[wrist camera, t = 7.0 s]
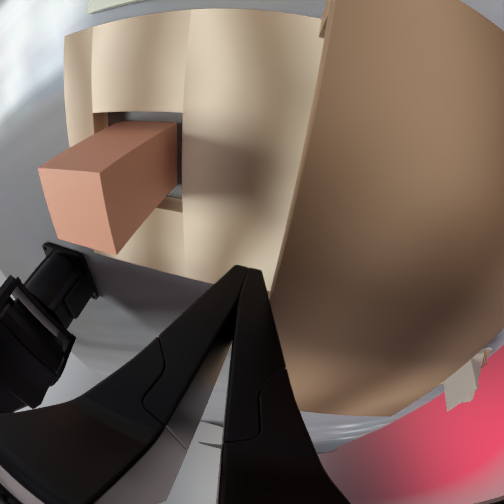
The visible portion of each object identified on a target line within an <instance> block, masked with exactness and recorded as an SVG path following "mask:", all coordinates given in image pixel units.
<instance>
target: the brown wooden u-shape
mask: <svg viewBox="0 0 504 504" xmlns="http://www.w3.org/2000/svg"><path fill="white" fill-rule="evenodd" d="M319 37H320V38H324V42H323V48H322V54H321V59H320V65H319V70H318V76H317V81H316V87H315V92H314V97H313V102H312V107H311V112H310V117H309V122H308V127H307V132H306V137H305V142H304V147H303V152H302V156H301V161H300V166H299V170H298V175H297V179H296V184H295V188H294V193H293V197H292V202H291V206H290V211H289V215H288V219H287V224H286V228H285V232H284V236H283V241H282V245H281V249H280V253H279V257H278V261H277V266H276V270H275V274H274V278H273V282H272V286H271V290H270V291H267V293H268V296H269V300H270V304H271V308H272V312H273V316H274V320H275V324H276V328H277V332H278V336H279V340H280V344H281V348H282V352H283V356H284V360H285V364H286V369H287V371H288V375H289V379H290V383H291V386H292V390H293V393H294V397H295V400H296V403H297V405H298V408H299V411H306V412H314V413H324V414H336V415H352V416H392V415H394V414H395V413H397V412H399V411H400V410H402V409H404V408H405V407H407V406H409V405H410V404H412V403H413V402H415V401H416V400H418V399H419V398H421V397H422V396H424V395H425V394H427V393H428V392H430V391H431V390H432V389H434V388H435V387H437V386H438V385H439V384H441V383H442V382H443V381H445V380H446V379H447V378H448V377H450V376H451V375H452V374H454V373H455V372H456V371H457V370H459V369H460V368H461V367H462V366H463V365H465V364H466V363H467V362H468V361H469V360H470V359H472V358H473V357H474V356H475V355H476V354H477V353H478V352H479V351H480V350H482V349H483V348H484V347H485V346H486V345H487V344H488V343H489V342H490V341H491V340H492V339H493V338H494V337H495V336H496V335H497V334H498V333H499V332H500V331H501V330H502V329H503V328H504V31H503V30H501V29H500V28H499V27H497V26H496V25H495V24H494V23H492V22H491V21H490V20H488V19H487V18H485V17H484V16H483V15H481V14H480V13H478V12H477V11H475V10H474V9H472V8H471V7H469V6H468V5H466V4H464V3H463V2H461V1H460V0H327V3H326V6H325V9H324V12H323V15H322V20H321V26H320V32H319Z"/></svg>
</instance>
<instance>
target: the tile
mask: <svg viewBox="0 0 504 504" xmlns="http://www.w3.org/2000/svg"><path fill="white" fill-rule="evenodd" d="M142 1H147V0H89V2H88V9H87V14H95V13H98V12H101V11H105V10H108V9H112V8H116V7H120V6H124V5H128V4H132V3H137V2H142Z"/></svg>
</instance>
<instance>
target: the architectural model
mask: <svg viewBox="0 0 504 504" xmlns="http://www.w3.org/2000/svg"><path fill="white" fill-rule="evenodd" d="M491 351H492V347H488V348H483V349H482V350H480V351H479V352H478V353H477V354H476V355H475V356H474V357H473V358H472V359H470V360H469V361H468V362H467V363H466V364H465V365H463V366H462V367H461V368H460V369H459V370H457V371H456V372H455V373H454V374H452V375H451V376H450V377H448V378H447V379H446V380H445V381H443V382H442V383H441V384H440V385H444V390H445V397H446V406H447V411H449V410H451V409H452V408H454V407H455V406H456V405H458V404H459V403H464V402H468V401H472V399H473V396H474V393H475V391H476V390H477V389H478V383H477V382H478V378H479V374H480V370H481V368H482V367H483V366H482V362H483V361H484V362H485V364H484V365H487V362H486V357H487V356H488V355H489V353H490V352H491ZM481 366H482V367H481Z"/></svg>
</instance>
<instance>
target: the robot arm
mask: <svg viewBox="0 0 504 504" xmlns="http://www.w3.org/2000/svg"><path fill="white" fill-rule="evenodd" d="M42 247H43V250H44V252H45V254H46V258H45V259H44V260H43V261H42V262H41V263H40V265H39V266H38V267H37V268H36V269H35V271H34V272H33V273H32V274H31V275H30V277H29V278H28V279H27V280H26V282H25V283H24V284H22V282H21V280H20V279H19V277H17V278H16V279H15V278H14V277H12V276H11V275H10V276H9V277H8V278H7V280H6V281H5V282H4V284H3V285H2V286H1V287H0V504H158V503H161V502H163V501H166V500H167V497H168V495H169V493H170V491H171V488H172V486H173V484H174V481H175V479H176V477H177V474H178V472H179V470H180V467H181V465H182V463H183V460H184V458H185V455H186V453H187V450H188V448H189V446H190V444H191V441H192V439H193V436H194V434H195V432H196V429H197V427H198V424H199V422H200V420H201V417H202V415H203V412H204V410H205V407H206V405H207V403H208V400H209V398H210V395H211V393H212V390H213V388H214V385H215V383H216V380H217V378H218V375H219V373H220V370H221V368H222V365H223V363H224V360H225V358H226V355H227V353H228V350H229V348H230V345H231V343H232V350H231V360H230V369H229V378H228V387H227V397H226V406H225V416H224V426H223V436H222V446H221V456H220V466H219V477H218V488H217V498H216V504H351V502H350V501H349V500H348V499H347V498H346V497H345V495H344V494H343V493H342V492H341V491H340V490H339V488H338V487H337V486H336V485H335V484H334V482H333V481H332V480H331V479H330V477H329V476H328V474H327V473H326V471H325V469H324V468H323V466H322V464H321V462H320V459H319V457H318V455H317V453H316V450H315V448H314V445H313V443H312V441H311V438H310V436H309V433H308V431H307V429H306V426H305V424H304V421H303V419H302V416H301V414H300V411H299V408H298V405H297V403H296V400H295V397H294V393H293V390H292V386H291V383H290V379H289V375H288V371H287V369H286V364H285V360H284V356H283V352H282V348H281V344H280V340H279V336H278V332H277V328H276V324H275V320H274V316H273V312H272V308H271V304H270V300H269V296H268V293H267V289H266V285H265V281H264V277H263V273H262V271H261V270H260V269H255V268H248V267H246V266H241V265H234V266H233V267H232V268H231V269H230V270H229V271H228V272H227V273H226V274H224V275H223V276H222V277H221V278H220V279H219V280H218V281H217V282H216V283H215V284H214V285H213V286H212V287H210V288H209V289H208V290H207V291H206V292H205V293H204V294H203V295H202V296H201V297H200V298H199V299H197V300H196V301H195V302H194V303H193V304H192V305H191V306H190V307H189V308H188V309H187V310H186V311H185V312H183V313H182V314H181V315H180V316H179V317H178V318H177V319H176V320H175V321H174V322H173V323H172V324H171V325H169V326H168V327H167V328H166V329H165V330H164V331H163V332H162V333H161V334H160V335H159V337H156V338H155V339H154V340H153V341H152V342H151V343H150V344H149V345H148V346H147V347H146V348H144V349H143V350H142V351H141V352H140V353H139V354H137V355H136V356H135V357H134V358H133V359H131V360H130V361H129V362H127V363H126V364H125V365H123V366H122V367H121V368H120V369H118V370H117V371H115V372H114V373H113V374H111V375H110V376H108V377H107V378H106V379H104V380H103V381H101V382H100V383H98V384H97V385H96V386H94V387H93V388H91V389H90V390H89V391H87V392H86V393H84V394H83V395H81V396H79V397H77V398H75V399H74V400H71V401H68V402H65V403H61V404H57V405H52V406H48V407H43V408H38V409H34V408H36V407H37V406H39V405H40V404H41V403H42V401H43V398H44V396H45V394H46V392H47V390H48V388H49V386H53V385H54V384H55V383H56V382H57V381H58V379H59V378H60V376H61V375H62V373H63V370H64V368H65V365H66V363H67V359H68V357H69V354H70V352H71V349H72V347H73V344H74V342H75V339H76V337H75V336H74V335H73V334H71V333H70V332H68V331H67V328H68V327H69V325H70V324H71V322H72V320H73V319H76V318H78V316H79V315H80V313H81V311H82V310H83V308H84V307H85V305H86V304H87V302H88V301H89V299H90V298H93V299H95V300H97V298H98V297H99V295H98V293H97V290H96V288H95V285H94V283H93V280H92V278H91V275H90V273H89V270H88V267H87V265H86V262H85V259H84V257H83V256H82V255H81V254H79V253H76V252H73V251H70V250H67V249H64V248H60V247H57V246H54V245H51V244H48V243H44V244H43V245H42ZM11 294H12V295H13V296H14V298H15V300H14V301H13V299H12V298H11V297H10V295H11ZM232 340H233V341H232ZM26 406H29V407H31V408H32V409H33V410H28V411H22V412H16V413H14V412H15V411H17V410H19V409H21V408H24V407H26ZM475 504H504V496H501V497H498V498H495V499H491V500H487V501H483V502H480V503H475Z"/></svg>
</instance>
